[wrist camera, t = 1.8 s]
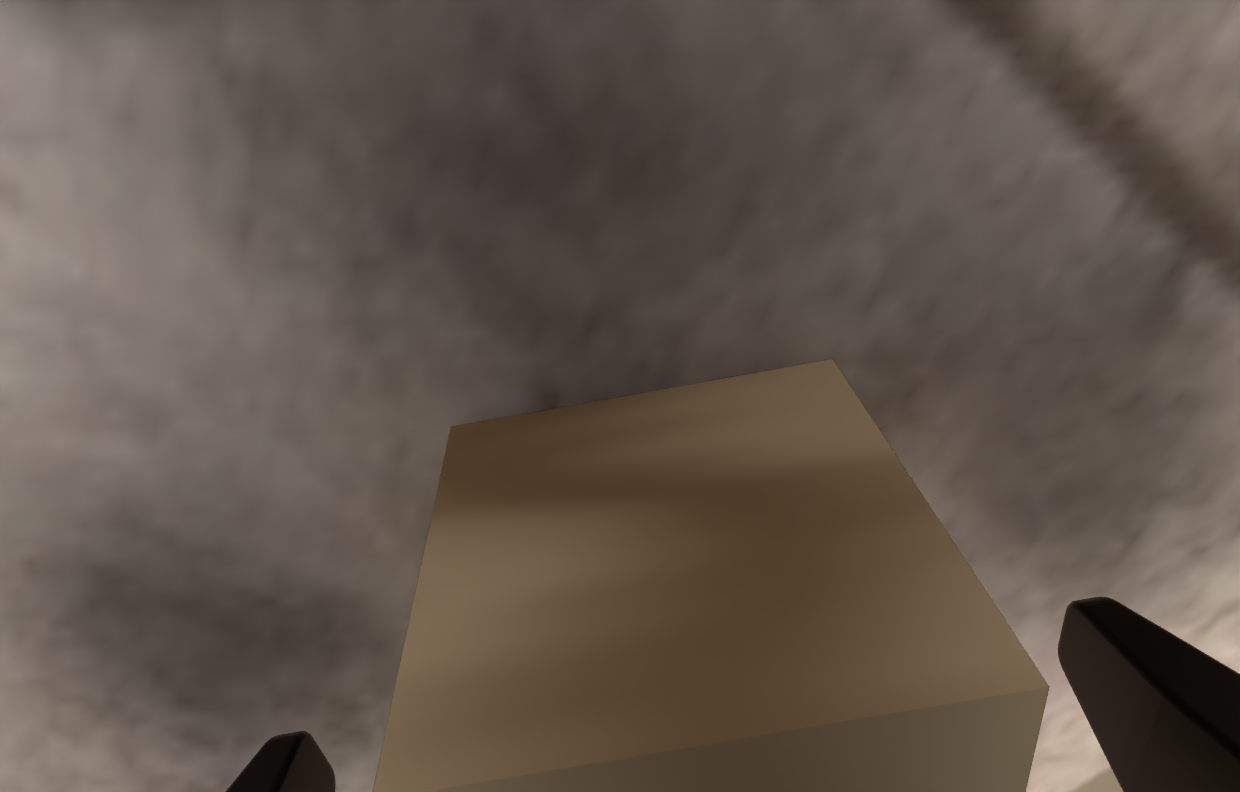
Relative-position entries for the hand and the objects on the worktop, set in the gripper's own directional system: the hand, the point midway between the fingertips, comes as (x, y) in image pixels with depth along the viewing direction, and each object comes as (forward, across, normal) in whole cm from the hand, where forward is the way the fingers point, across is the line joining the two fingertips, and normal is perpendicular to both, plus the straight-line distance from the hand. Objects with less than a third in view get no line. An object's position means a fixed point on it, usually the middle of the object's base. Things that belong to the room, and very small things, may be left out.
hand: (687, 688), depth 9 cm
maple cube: (+3, 0, 0) cm, 3 cm away
